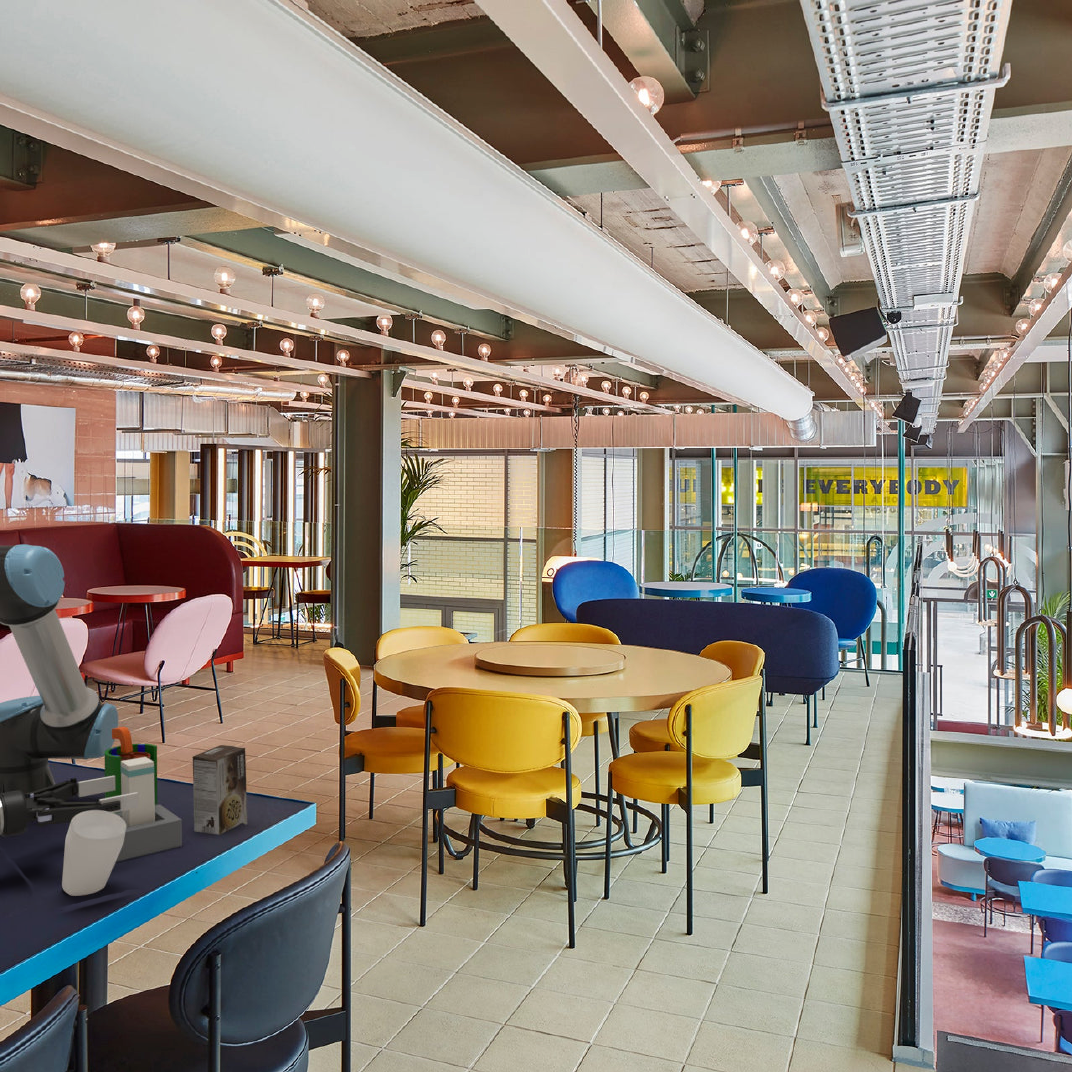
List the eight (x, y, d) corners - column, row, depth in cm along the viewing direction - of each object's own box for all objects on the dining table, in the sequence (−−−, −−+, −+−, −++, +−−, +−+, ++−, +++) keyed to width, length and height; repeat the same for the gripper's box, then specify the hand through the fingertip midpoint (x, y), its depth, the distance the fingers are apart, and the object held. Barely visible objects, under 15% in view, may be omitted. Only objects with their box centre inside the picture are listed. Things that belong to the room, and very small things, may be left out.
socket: (96, 848, 183) (95, 817, 183) (160, 833, 191) (159, 804, 191) (116, 867, 174) (115, 834, 174) (182, 850, 182) (181, 819, 182)
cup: (65, 908, 157) (81, 844, 154) (45, 875, 162) (61, 814, 160) (120, 896, 163) (136, 835, 161) (99, 865, 169) (114, 806, 167)
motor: (134, 835, 190) (131, 736, 189) (94, 832, 192) (91, 734, 191) (163, 818, 200) (161, 723, 199) (125, 816, 202) (123, 722, 201)
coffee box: (222, 821, 198) (220, 744, 198) (248, 824, 196) (247, 746, 195) (192, 836, 190) (191, 755, 189) (219, 840, 188) (218, 758, 187)
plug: (122, 844, 183) (120, 761, 182) (147, 838, 186) (145, 756, 185) (130, 851, 179) (128, 766, 178) (156, 844, 182) (154, 761, 182)
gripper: (-16, 818, 176) (106, 794, 190) (15, 858, 157) (148, 828, 171) (-17, 778, 176) (105, 757, 189) (14, 812, 157) (147, 786, 170)
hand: (126, 791), depth 180 cm, fingers open, 13 cm apart
